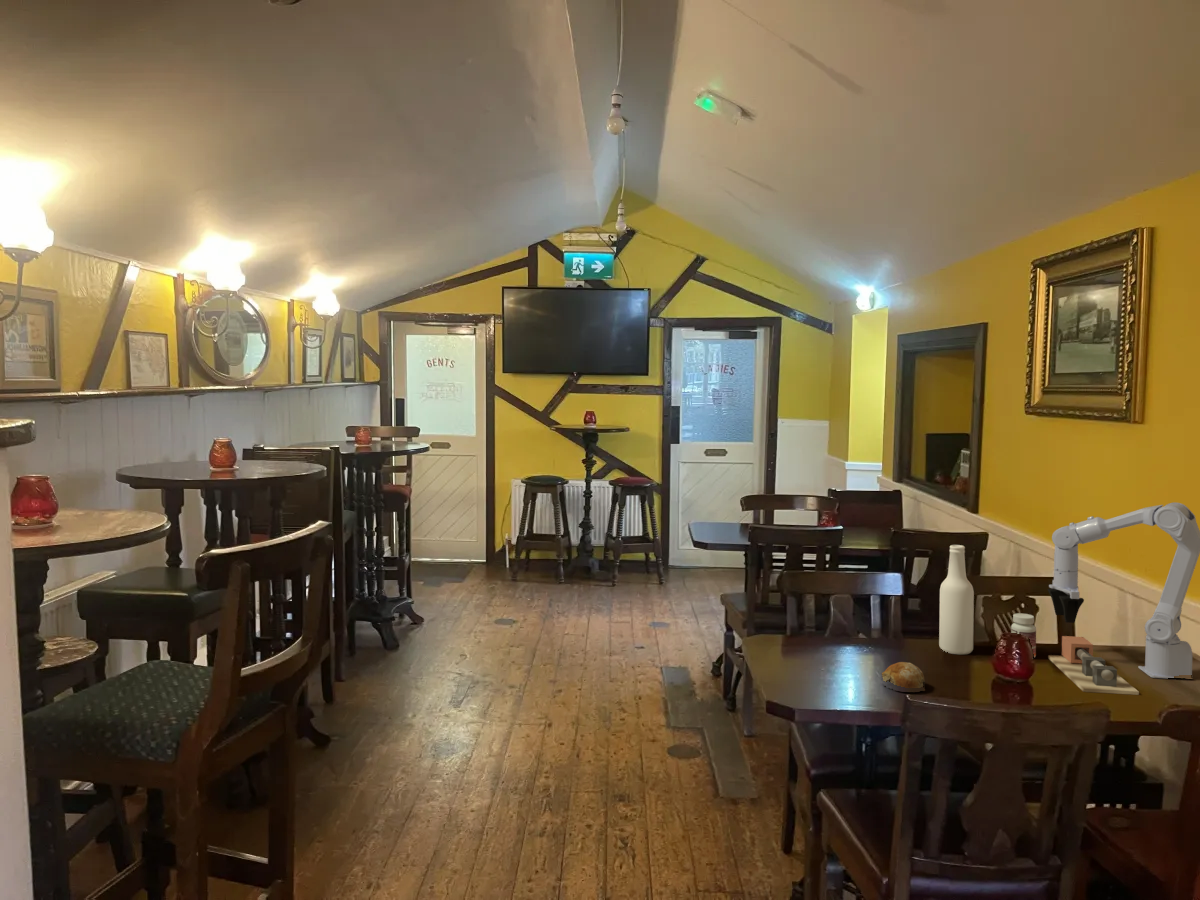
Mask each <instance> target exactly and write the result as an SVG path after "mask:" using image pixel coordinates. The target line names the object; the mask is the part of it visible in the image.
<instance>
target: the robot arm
mask: <svg viewBox="0 0 1200 900" xmlns="http://www.w3.org/2000/svg"><path fill="white" fill-rule="evenodd" d="M1196 518H1197V517H1196V515H1195V514H1194V513H1193V512H1192V511H1191V510H1190V509H1189V507H1188V506H1186V505H1185V504H1184V503H1180V502H1171V503H1167V504H1165V506H1164V504H1159V505H1153V506H1152V505H1151V506H1148V507H1147V506H1146V507H1143V508H1140V509H1136V510H1133V511H1130V512H1127V513H1123V514H1121V515H1118V516H1115V517H1110V518H1107V519H1105V518H1103V517H1100V516H1096V517H1094V516H1093V515H1092V516H1088V517H1087V520H1082V521H1080V522H1077V523H1076V522H1070V523H1069V525H1065V526H1062V527H1060V528H1057V529H1056V530H1054V531H1053V532H1052V534H1051V535H1052V536H1051V541H1052V543H1053V544H1054V553H1053V554H1054V555H1053V579H1052V582H1051V583H1052V584H1048V588H1047V591H1048V593H1049V596H1050V597H1051V602H1052V605H1053V609H1054V614H1055V615H1056V616H1063V617H1064V621H1065V623H1068V624H1069V623H1072V624H1073V623H1076V620H1077V616H1078V613H1079V611H1080V608H1081V606H1083V603H1084V601H1085V599H1084V597H1080V591H1079V586H1078V583H1079V581H1078V580H1079V579H1078V578H1079V544H1080V545H1083V544H1087V543H1091V542H1096V541H1098V540H1102V539H1106V538H1108V537H1109V534H1110V533H1111V532H1112V531H1117V530H1120V529H1124V528H1129V527H1133V526H1136V525H1140V524H1143V525H1148V526H1150V527H1154V526H1157V527H1158V528H1159V529H1161V531H1164V532H1165V533H1166V534H1168V535H1169V536H1170V537H1171V538H1172V539H1173V541H1174V542H1175V543H1176V545H1177V548H1176V550H1175V554H1174V556H1173V559H1172V562H1171V565H1170V568H1169V571H1168V575H1167V577H1166V581H1165V583H1164V586H1163V589H1162V592H1161V596H1160V598H1159V602H1158V603H1157V606H1156V607H1155V610H1154V613H1153V615H1152V617H1151V618H1149V619H1148V620H1146V622H1145V624H1144V632H1145V634H1146V635H1145V657H1144V658H1145V659H1144V666H1143V665H1138V669H1139V670H1141V671H1142V672H1144V673H1145V674H1146V675H1147V676H1149V677H1150V678H1152V679H1153V678H1154V679H1168V678H1174V676H1179V675H1192V676H1193V649H1192V646H1191V645H1190V643H1189V642H1188V641H1185V640H1181V638H1179V636H1178V634H1177V633H1179V632H1180V630H1181V629H1182V621H1181V614H1182V610H1183V608H1182V607H1183V605H1184V601H1185V598H1186V595H1187V593H1188V589H1189V586H1190V583H1191V582H1192V581H1191V580H1192V577H1193V575H1194V572H1195V569H1196V566H1197V562H1198V560H1199V557H1200V528H1199V526H1198V523H1197V519H1196Z"/></svg>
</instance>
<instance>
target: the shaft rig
mask: <svg viewBox="0 0 1200 900" xmlns="http://www.w3.org/2000/svg"><path fill="white" fill-rule="evenodd" d="M1075 655H1077V656H1078V657H1079V658H1080V659H1081V660H1082V663H1070V662H1069V661H1068V660H1067V659H1066V658H1065V657H1064V656H1063V655H1056V654H1053V655H1052V654H1048V655H1047V658H1048V660H1049V661H1050V662H1051V663H1052V664H1054V665H1055V666H1056V667H1057V668H1058V669H1059V670H1060V671H1061V672H1062V673H1063V674H1064V675H1065V676H1066V677H1067V678H1068V679H1070V681H1072V682H1073V683H1074V685H1076V687H1078V688H1079V690H1081V691H1082V692H1084V693H1101V694H1115V695H1116V694H1118V695H1133V696H1134V695H1136V696H1139V695H1140V691H1139V690H1137V689H1136V688H1135V687H1134V686H1132V685H1131V684H1130V683H1129V682H1127V680H1125V679H1124V678H1123V677H1121V676H1120V675H1119V674H1118V669H1117V668H1115V667H1114V666H1113V665H1112V666H1111V665H1107V664H1106V660H1105V659H1104V658H1103V657H1100V656H1099V657H1098V656H1094V655H1093V656H1092V655H1090V654H1089V653H1088V652H1087V651H1085V650H1084V649H1083V648H1082V647H1075Z"/></svg>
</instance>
